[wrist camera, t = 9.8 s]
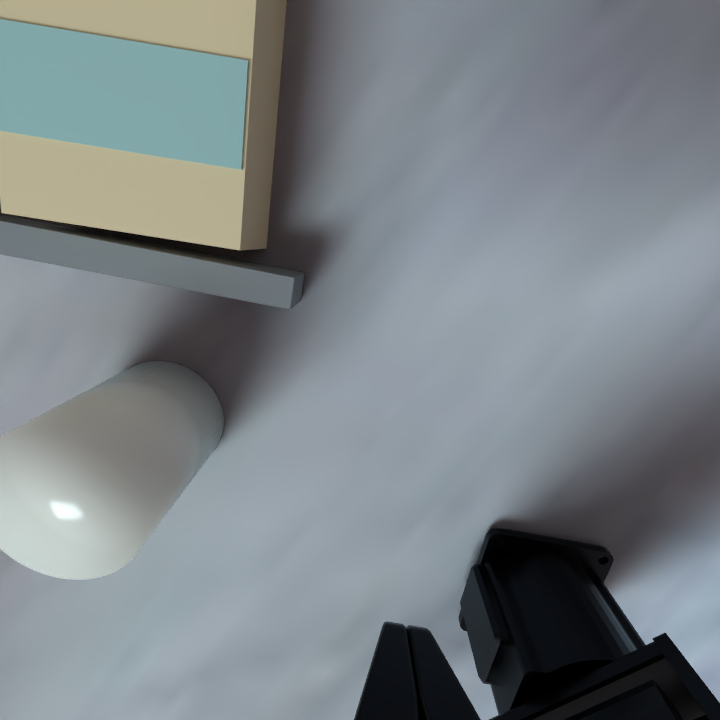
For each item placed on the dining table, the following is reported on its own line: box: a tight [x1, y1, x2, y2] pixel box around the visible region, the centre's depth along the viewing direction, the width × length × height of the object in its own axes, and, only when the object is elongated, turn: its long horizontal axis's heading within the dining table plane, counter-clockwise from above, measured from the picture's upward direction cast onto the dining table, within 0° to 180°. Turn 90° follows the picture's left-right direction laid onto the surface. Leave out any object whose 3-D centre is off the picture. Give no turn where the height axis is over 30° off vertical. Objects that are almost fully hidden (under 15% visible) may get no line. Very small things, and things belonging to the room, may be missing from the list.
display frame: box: [0, 203, 305, 309], centre depth 14 cm, size 14×16×2 cm
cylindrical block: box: [0, 361, 224, 580], centre depth 16 cm, size 6×6×7 cm
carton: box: [0, 0, 287, 250], centre depth 14 cm, size 8×12×4 cm, turn 171°
